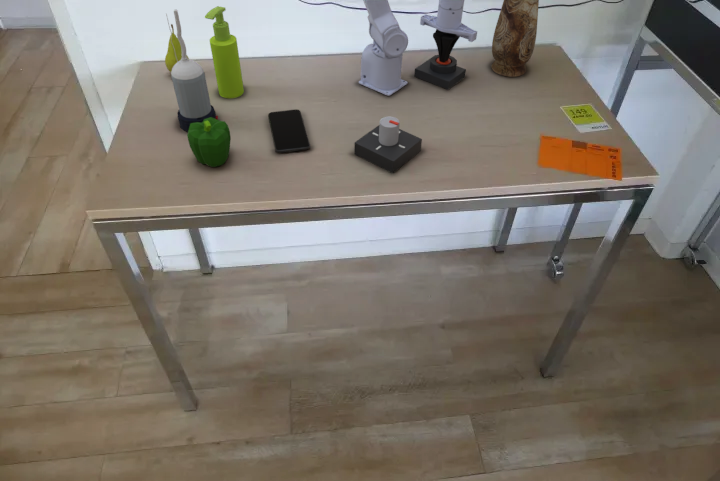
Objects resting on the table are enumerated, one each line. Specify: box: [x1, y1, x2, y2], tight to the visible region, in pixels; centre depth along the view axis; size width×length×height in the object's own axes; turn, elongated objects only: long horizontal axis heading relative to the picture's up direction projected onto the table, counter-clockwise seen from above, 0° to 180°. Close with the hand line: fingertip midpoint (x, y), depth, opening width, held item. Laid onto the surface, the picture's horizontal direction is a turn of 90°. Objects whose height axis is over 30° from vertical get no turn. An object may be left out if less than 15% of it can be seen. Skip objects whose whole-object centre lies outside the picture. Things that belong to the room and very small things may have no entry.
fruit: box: [164, 23, 190, 73], centre depth 135 cm, size 6×6×12 cm
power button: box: [436, 58, 451, 65], centre depth 139 cm, size 4×4×2 cm
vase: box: [491, 0, 540, 78], centre depth 134 cm, size 10×11×30 cm
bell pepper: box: [186, 117, 232, 168], centre depth 112 cm, size 8×8×10 cm
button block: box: [413, 54, 467, 90], centre depth 140 cm, size 10×8×4 cm
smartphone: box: [267, 109, 311, 154], centre depth 122 cm, size 7×1×15 cm
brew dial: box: [378, 116, 401, 146], centre depth 114 cm, size 4×4×5 cm
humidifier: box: [165, 9, 219, 133], centre depth 116 cm, size 8×8×25 cm
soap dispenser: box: [204, 5, 245, 99], centre depth 127 cm, size 6×7×20 cm
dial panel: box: [353, 124, 423, 174], centre depth 117 cm, size 10×10×3 cm
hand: (443, 60), depth 139 cm, fingers closed, pressing on power button
